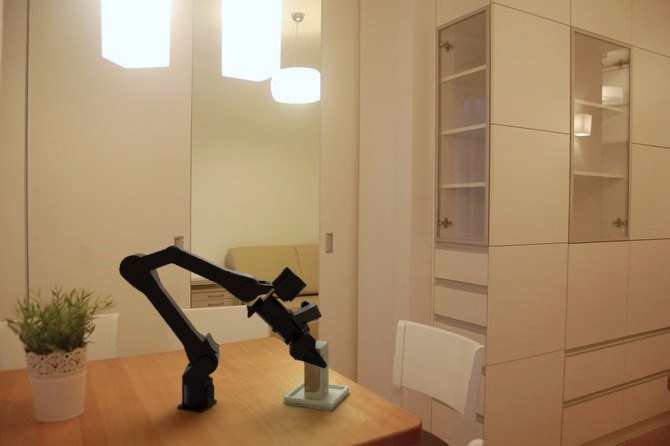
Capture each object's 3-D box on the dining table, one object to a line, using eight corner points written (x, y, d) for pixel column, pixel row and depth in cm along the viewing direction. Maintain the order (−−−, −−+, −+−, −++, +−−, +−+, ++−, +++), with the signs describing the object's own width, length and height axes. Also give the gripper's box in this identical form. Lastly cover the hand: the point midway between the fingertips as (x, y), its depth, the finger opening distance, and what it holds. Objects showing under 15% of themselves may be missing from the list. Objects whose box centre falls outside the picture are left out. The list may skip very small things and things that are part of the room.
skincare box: (312, 389, 115) (312, 339, 115) (329, 391, 114) (329, 341, 114) (303, 398, 109) (303, 346, 109) (320, 400, 107) (320, 348, 107)
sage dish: (283, 403, 108) (283, 396, 108) (304, 386, 119) (304, 380, 119) (331, 410, 104) (331, 403, 104) (349, 392, 115) (349, 386, 115)
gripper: (305, 298, 102) (354, 346, 103) (297, 286, 120) (339, 327, 122) (268, 335, 100) (319, 383, 102) (266, 317, 119) (309, 359, 120)
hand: (323, 360), depth 112 cm, fingers open, 9 cm apart
